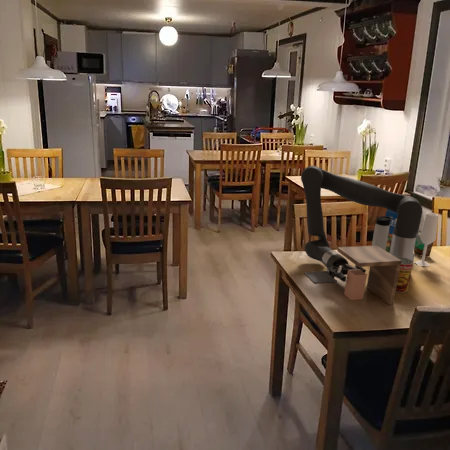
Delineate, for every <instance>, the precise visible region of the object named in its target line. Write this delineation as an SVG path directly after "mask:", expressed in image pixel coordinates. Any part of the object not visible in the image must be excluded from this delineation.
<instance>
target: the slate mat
mask: <svg viewBox="0 0 450 450" xmlns="http://www.w3.org/2000/svg"><path fill="white" fill-rule="evenodd" d="M326 271H327V270H317V271H304V272H303V274H304V275H305V277H307V278H308V279H309V280H310V281H312V283H313V284H324V283H337V281H338V280H337V278H332V277H331V276H330V275H329V274H328V273H327V272H326Z"/></svg>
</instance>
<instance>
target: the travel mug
mask: <svg viewBox="0 0 450 450" xmlns="http://www.w3.org/2000/svg"><path fill="white" fill-rule="evenodd" d="M391 219H392V218H391V217H386V216H385V215H384V216H383V215H381V216H377V217H376V218H375V224H374V231H373V235H372V237H373V238H372V242H371V246H378V247H380V248H382V249H383V250H386V244H387V239H388V233H389V227H390V221H391Z"/></svg>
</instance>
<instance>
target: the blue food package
mask: <svg viewBox="0 0 450 450" xmlns="http://www.w3.org/2000/svg"><path fill="white" fill-rule="evenodd" d="M384 216H386V217H391V218H392V219H391V221H390V227H389V233H388V239H387V244H386V250H385V251H387V252H388V253H390V248H391V242H392V237H393V231H394V227H395V225H396V221H397V216H398V213H396V212H394V211H391V210H389V209H386V212H385V215H384Z"/></svg>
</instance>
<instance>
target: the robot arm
mask: <svg viewBox="0 0 450 450" xmlns="http://www.w3.org/2000/svg"><path fill="white" fill-rule="evenodd" d="M300 180H301V181H300V182H301V183H302V186H303V191H304V195H305V202H306V225H307V226H306V227H307V228H306V229H307V233H308V235H309V236H312V237H317V238H318V239H316V240H315V239H314V240H310V241H307V242H306V243H305V244H304V252H305V254H306V256H307V257H309V258H311V259H313V260H315V261H318V262H321V263H322V265H324V266H325V268H326V270H325V271H326V272H327V273H328V274H329V275H330V276H331V277H332V278H334V279H339V280H340V281H341V282H343V283H346V279H347V273H348V270H356V269H360V270H361V271H363V272H364V273H365V274H366V269H365V267H358V266H357V265H355V264H354V266H353V265H351V264H349V263H350V262H349V260H347V258H346V257H344V256H343V255H342V254H340V253H339V252H338V251H336V250H333V249H332V248H331V247H330V244H329V241H328V239H327V236H326V232H325V225H324V214H323V213H324V212H323V207H322V199H321V198H322V197H321V196H322V195H321V192H322V190H327V191H330V192H332V193H334V194H337V195H338V196H340V197H342V198H343V199H346V200H348V201H350V202H352V203H353V202H354V203H357V204H359V205H363V206H368V207H369V206H370V207H377V208H383V209H386V210H387V209H389V210H391V211H394V212H396V213H398V216H397V221H396V225H395V227H394V231H393V237H392V242H391V248H390V254H391V255H393V256H395V257H404V258H408V259H410V260H412V261H413V262H414V260H415V257H416V256H415V255H416V254H415V253H414V246H415V241H416V236H417V232H418V231H419V230H420V226H421V221H422V217H423V205H421V202H419V201H420V200H418V199H417V198H415V197H414V196H409V195H406V194H402V193H401V194H399V193H396V192H392V191H389V190H386V189H384V188H382V187H378V186H376V185H374V184H371V183H368V182H366V181H362V180H358V179H354V178H351V177H347V176H342V175H338V174H335V173H332V172H329V171H327V170H325V169H323V168H321V167H319V166H316V165H309V166H306V167H305V168H304V169H303V171H302V172H301V175H300ZM413 265H414V264H413ZM413 265H412V267H413ZM366 279H368V276H367V277H366Z"/></svg>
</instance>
